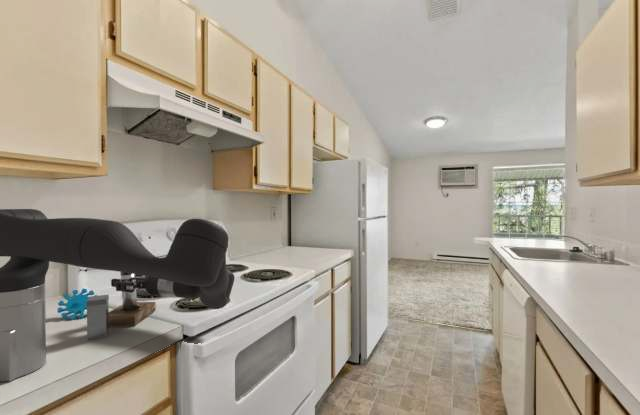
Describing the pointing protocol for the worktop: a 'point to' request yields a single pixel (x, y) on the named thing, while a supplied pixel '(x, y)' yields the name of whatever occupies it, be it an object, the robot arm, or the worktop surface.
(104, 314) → the square bit
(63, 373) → the worktop surface
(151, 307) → the socket plate
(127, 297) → the silver capped cylinder
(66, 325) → the worktop surface
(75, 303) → the blue virus model
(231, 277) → the robot arm
